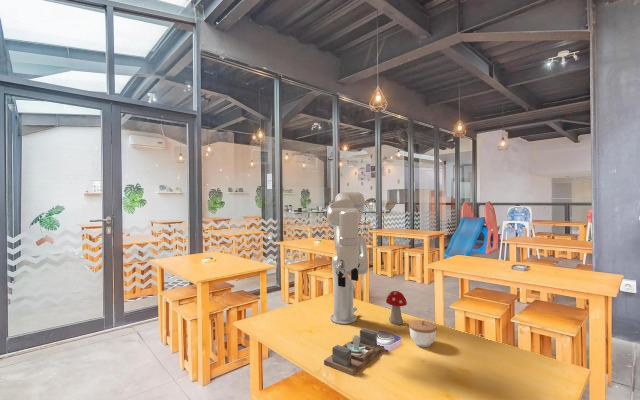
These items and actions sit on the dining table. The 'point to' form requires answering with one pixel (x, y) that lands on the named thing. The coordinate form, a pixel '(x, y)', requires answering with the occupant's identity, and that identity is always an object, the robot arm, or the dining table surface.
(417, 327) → the lidded jar
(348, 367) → the brown tray
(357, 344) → the pacifier
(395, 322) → the decorative mushroom
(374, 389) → the dining table surface
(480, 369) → the dining table surface
